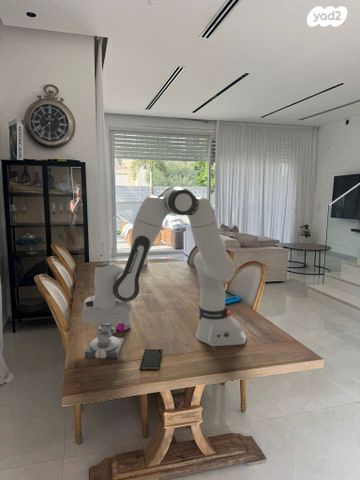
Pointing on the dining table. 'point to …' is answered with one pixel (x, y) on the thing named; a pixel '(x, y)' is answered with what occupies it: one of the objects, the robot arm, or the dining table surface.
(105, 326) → the cylinder
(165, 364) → the dining table surface
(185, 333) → the dining table surface
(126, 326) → the supplement box
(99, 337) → the cylinder
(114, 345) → the scale
